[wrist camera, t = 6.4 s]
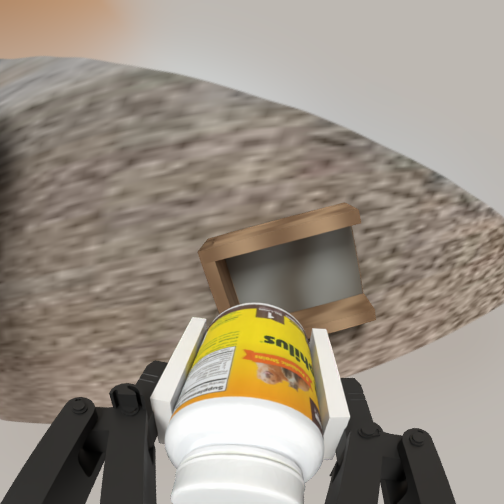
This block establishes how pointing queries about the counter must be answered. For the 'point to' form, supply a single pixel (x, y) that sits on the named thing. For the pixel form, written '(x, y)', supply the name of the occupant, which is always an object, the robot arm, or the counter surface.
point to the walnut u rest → (293, 268)
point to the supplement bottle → (247, 413)
